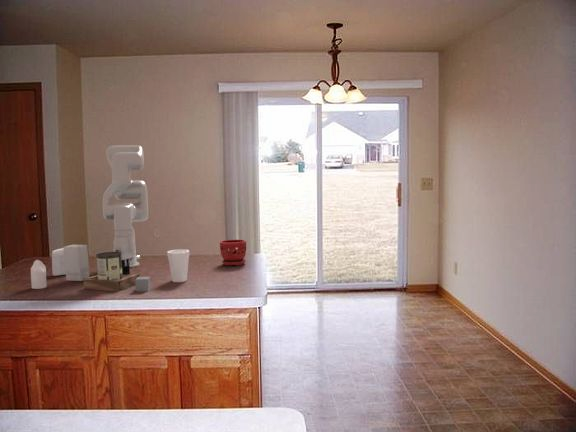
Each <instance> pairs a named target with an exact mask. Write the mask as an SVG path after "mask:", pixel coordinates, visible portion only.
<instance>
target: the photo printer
mask: <svg viewBox="0 0 576 432" xmlns="http://www.w3.org/2000/svg"><path fill="white" fill-rule="evenodd" d="M51 264H52V265H51V267H52V276H53V277H56V276H57V277H58V276H66V269H65V259H64V248H62V247H61V248H58V249H57V248H56V249H55V250H52V252H51Z"/></svg>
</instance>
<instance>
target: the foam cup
mask: <svg viewBox="0 0 576 432" xmlns="http://www.w3.org/2000/svg"><path fill="white" fill-rule="evenodd" d="M166 252H167V259H168V264H169V270H170V276H171V281H172V282H173V283H184V282H186V281H187V279H188V273H189V272H188V270H189V259H190V250H189V249H171V250H168V251H166Z"/></svg>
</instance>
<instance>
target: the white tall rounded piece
mask: <svg viewBox="0 0 576 432" xmlns="http://www.w3.org/2000/svg"><path fill="white" fill-rule="evenodd" d="M30 281H31V282H30V283H31V289H35V290H40V289H45V288H47V286H48V285H47V268H46V265H45V264H43V262H42V261H41V260H39V259H36V260H35V261H33V264H32V266H30Z"/></svg>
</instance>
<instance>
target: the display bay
mask: <svg viewBox="0 0 576 432" xmlns="http://www.w3.org/2000/svg"><path fill="white" fill-rule="evenodd" d="M138 277H141V274H140V273H135V274H132V275H128V276H127V277H122V278H123V279H120V280H118V281H113V280H98V274H96V275H92V276H90V277H89V278H86V279H83V281H82V282H83V289H84V290H95V291H107V292H108V291H109V292H110V291H111V292H120V291H123V290H125V289H126V290H127V288H131V287H133V286H136V281H135V279H136V278H138Z"/></svg>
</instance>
